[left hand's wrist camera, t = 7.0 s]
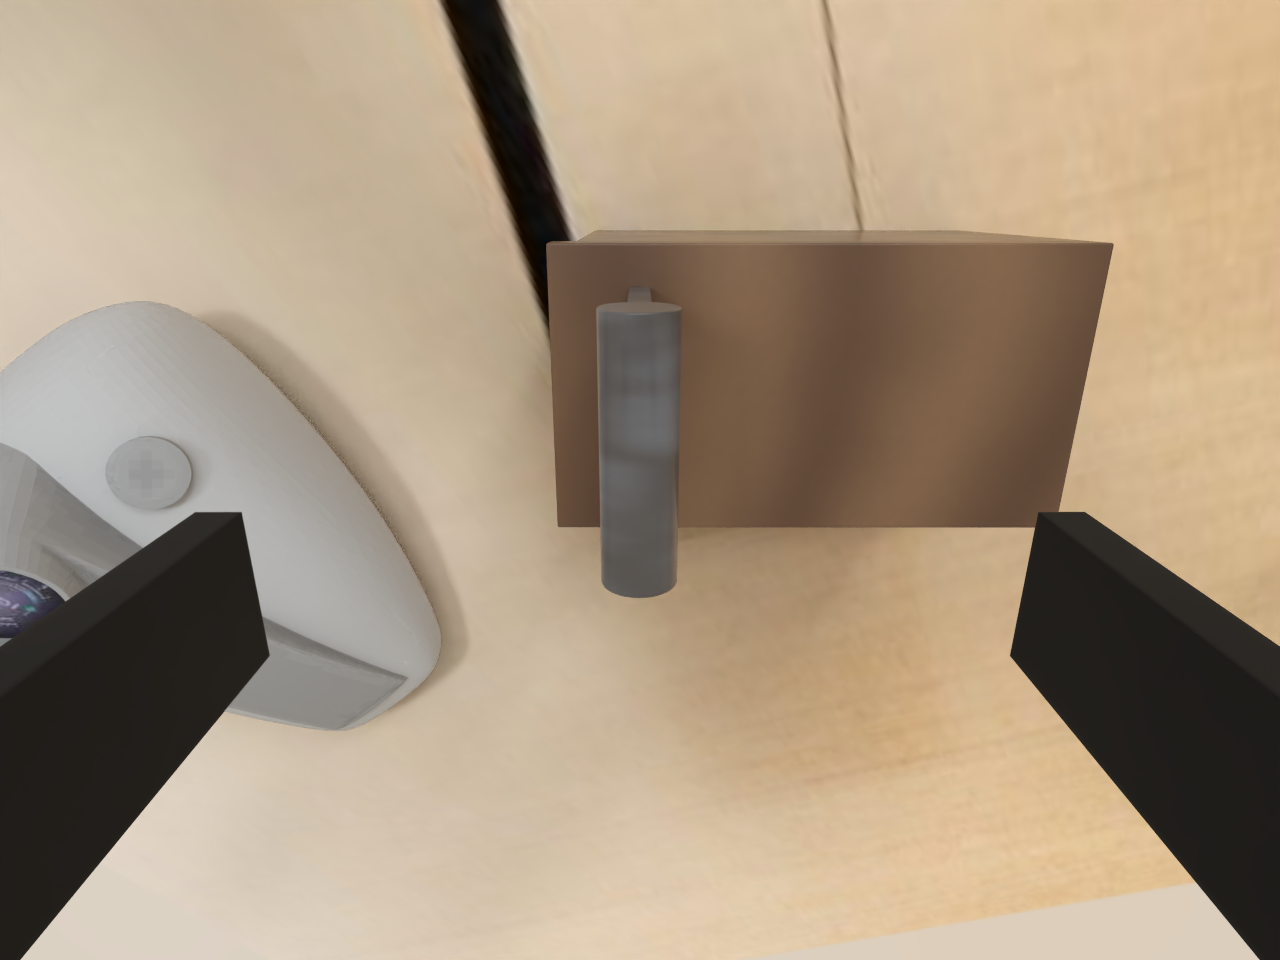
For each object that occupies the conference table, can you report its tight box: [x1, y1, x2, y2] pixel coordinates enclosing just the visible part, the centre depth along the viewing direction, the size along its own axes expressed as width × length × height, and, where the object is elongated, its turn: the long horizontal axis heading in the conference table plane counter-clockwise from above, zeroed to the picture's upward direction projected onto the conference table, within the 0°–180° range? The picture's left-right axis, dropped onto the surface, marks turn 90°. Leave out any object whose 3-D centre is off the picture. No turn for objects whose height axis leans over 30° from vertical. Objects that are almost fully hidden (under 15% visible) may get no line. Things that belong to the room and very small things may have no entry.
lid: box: [546, 241, 1113, 598], centre depth 22 cm, size 18×10×9 cm, turn 90°
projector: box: [0, 301, 441, 731], centre depth 33 cm, size 22×23×15 cm
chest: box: [578, 231, 1080, 241], centre depth 32 cm, size 17×10×11 cm, turn 90°
